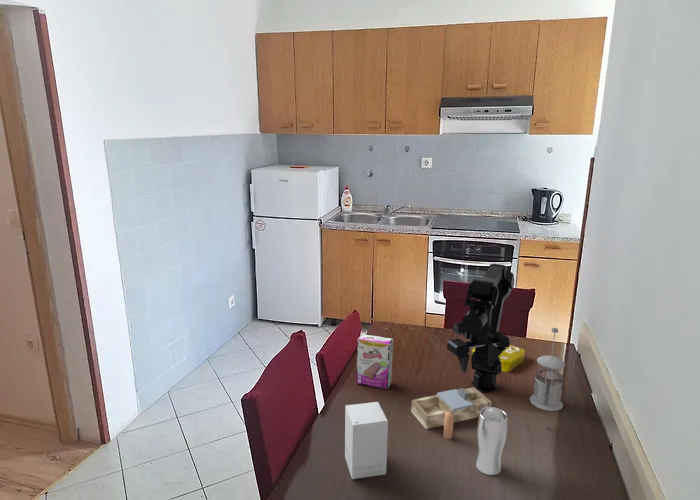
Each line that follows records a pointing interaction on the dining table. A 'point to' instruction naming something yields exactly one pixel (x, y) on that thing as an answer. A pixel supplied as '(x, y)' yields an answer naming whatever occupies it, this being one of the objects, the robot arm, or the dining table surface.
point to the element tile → (510, 357)
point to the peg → (448, 425)
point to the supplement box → (366, 440)
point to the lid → (456, 399)
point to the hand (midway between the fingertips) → (476, 369)
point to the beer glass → (491, 439)
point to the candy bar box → (374, 361)
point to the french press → (548, 383)
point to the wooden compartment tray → (447, 409)
